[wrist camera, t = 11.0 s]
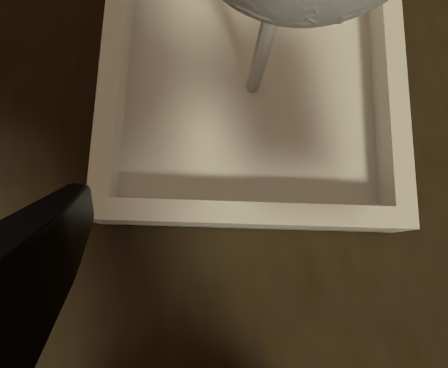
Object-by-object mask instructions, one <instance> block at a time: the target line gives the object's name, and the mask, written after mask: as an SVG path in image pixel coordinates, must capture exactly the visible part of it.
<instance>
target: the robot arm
mask: <svg viewBox="0 0 448 368" xmlns="http://www.w3.org/2000/svg"><path fill="white" fill-rule="evenodd" d="M93 220H94V209H93V202H92V195H91V189H90V187H89V186H88V185H86V184H75V183H71V184H68V185H66V186H65V187H63V188H61V189H59V190H57V191H55V192H53V193H51V194H49V195H47V196H45V197H44V198H42V199H40V200H38V201H36V202H34V203H32V204H30V205H28V206H26V207H24V208H23V209H21V210H19V211H17V212H15V213H13V214H11V215H9V216H7V217H5V218H3V219H2V220H0V368H35V366H36V364H37V362H38V359H39V357H40V355H41V353H42V351H43V348H44V346H45V344H46V342H47V339H48V337H49V335H50V333H51V331H52V328H53V326H54V324H55V322H56V320H57V317H58V315H59V313H60V311H61V309H62V306H63V304H64V302H65V300H66V298H67V295H68V293H69V291H70V289H71V287H72V284H73V282H74V279H75V277H76V274H77V271H78V268H79V265H80V262H81V259H82V256H83V253H84V249H85V246H86V243H87V240H88V237H89V233H90V230H91V227H92V224H93Z"/></svg>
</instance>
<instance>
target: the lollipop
mask: <svg viewBox="0 0 448 368" xmlns="http://www.w3.org/2000/svg"><path fill="white" fill-rule="evenodd" d="M223 1H224V2H225V3H227V4H228V5H229V6H231V7H232V8H234V9H235V10H236V11H238V12H241V13H242V14H244V15H246V16H248V17H251V18H253V19H256V20H258V21H261V24H260V28H259V33H258V37H257V41H256V46H255V50H254V54H253V58H252V63H251V67H250V71H249V76H248V80H247V84H246V87H247V91H249V92H251V93H254V92H257V90H258V89H259V86H260V83H261V80H262V77H263V73H264V70H265V67H266V63H267V60H268V57H269V54H270V50H271V47H272V44H273V41H274V37H275V34H276V31H277V28H278V26H279V27H288V28H315V27H324V26H329V25H333V24H341V23H343V22H344V21H347V20H350V19H353V18H356V17H359V16H361V15H363V14H366V13H368V12H370V11H372V10H374V9H376V8H378V7H379V6H381V5H382V4H384V3H386V2H387V1H388V0H223Z"/></svg>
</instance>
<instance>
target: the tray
mask: <svg viewBox="0 0 448 368" xmlns="http://www.w3.org/2000/svg"><path fill="white" fill-rule="evenodd" d="M260 24H261V21H258V20H256V19H253V18H251V17H248V16H246V15H244V14H242V13H241V12H238V11H236V10H235V9H234V8H232V7H231V6H229V5H228V4H227V3H225V2H224V1H223V0H105V8H104V18H103V28H102V38H101V48H100V57H99V67H98V77H97V87H96V97H95V107H94V116H93V126H92V136H91V146H90V156H89V165H88V175H87V185H88V186H89V187H90V189H91V195H92V202H93V209H94V220H93V222H95V223H98V224H113V225H147V226H181V227H215V228H249V229H283V230H317V231H351V232H385V233H394V232H402V231H409V230H416V229H420V227H419V214H418V202H417V189H416V176H415V163H414V150H413V138H412V125H411V112H410V99H409V86H408V74H407V61H406V48H405V35H404V23H403V10H402V0H388V1H387V2H386V3H384V4H382V5H381V6H379V7H378V8H376V9H374V10H372V11H370V12H368V13H366V14H363V15H361V16H359V17H356V18H353V19H350V20H347V21H344V22H343V23H341V24H333V25H329V26H324V27H315V28H288V27H279V26H278V28H277V31H276V34H275V37H274V41H273V44H272V47H271V50H270V54H269V57H268V60H267V63H266V67H265V70H264V73H263V77H262V80H261V83H260V86H259V89H258V90H257V92H254V93H251V92H249V91H247V87H246V84H247V80H248V76H249V71H250V67H251V63H252V58H253V54H254V50H255V46H256V41H257V37H258V33H259V28H260Z"/></svg>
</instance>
